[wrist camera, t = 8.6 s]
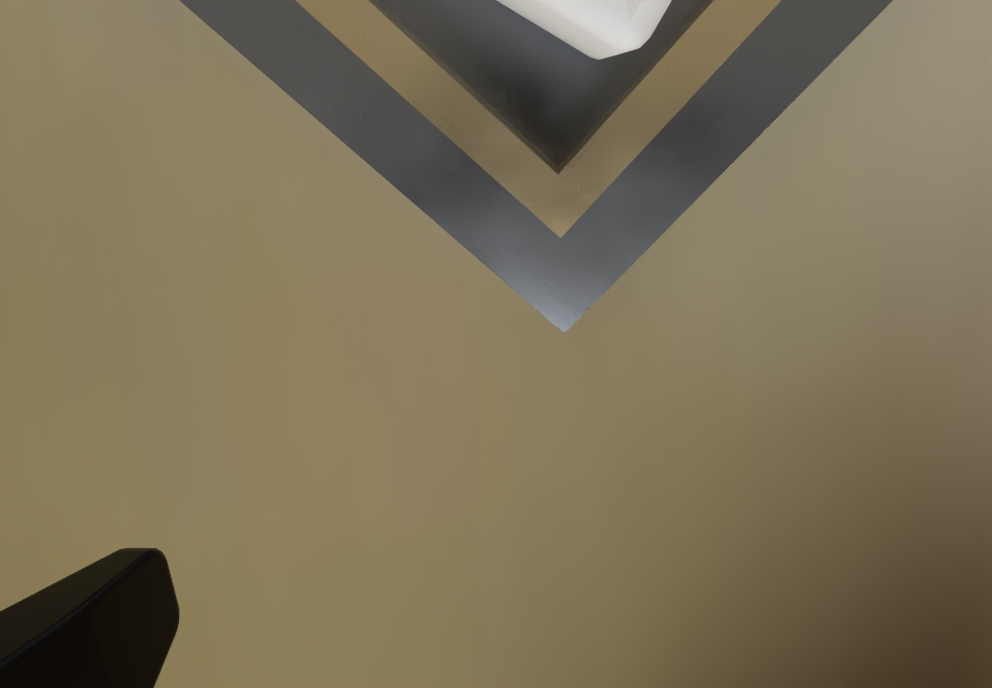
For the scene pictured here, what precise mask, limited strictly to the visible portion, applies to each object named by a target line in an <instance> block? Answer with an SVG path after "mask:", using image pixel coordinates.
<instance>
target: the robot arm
mask: <svg viewBox="0 0 992 688" xmlns="http://www.w3.org/2000/svg"><path fill="white" fill-rule="evenodd" d="M178 624H179V606H178V602H177V598H176V594H175V590H174V586H173V582H172V578H171V574H170V570H169V567H168V563H167V560H166V557H165V555H164V554H163V553H162V552H161V551H160V550H158V549H156V548H124V549H120V550H118V551H116V552H114V553H112V554H110V555H108V556H106V557H104V558H102V559H100V560H98V561H96V562H94V563H93V564H91V565H89V566H87V567H85V568H83V569H81V570H79V571H77V572H75V573H73V574H71V575H69V576H67V577H66V578H64V579H62V580H60V581H58V582H56V583H54V584H52V585H50V586H48V587H46V588H44V589H42V590H41V591H39V592H37V593H35V594H33V595H31V596H29V597H27V598H25V599H23V600H21V601H19V602H17V603H15V604H14V605H12V606H10V607H8V608H6V609H4V610H2V611H0V688H154V686H155V684H156V681H157V679H158V676H159V674H160V671H161V669H162V666H163V664H164V662H165V659H166V657H167V654H168V652H169V649H170V647H171V644H172V642H173V640H174V637H175V635H176V632H177V628H178Z"/></svg>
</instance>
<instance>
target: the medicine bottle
mask: <svg viewBox="0 0 992 688" xmlns="http://www.w3.org/2000/svg"><path fill="white" fill-rule="evenodd" d="M496 1H498V2H500V3H501V4H503V5H505V6H506V7H508V8H510V9H511V10H513V11H515V12H516V13H518V14H520V15H521V16H523V17H525V18H526V19H528V20H529V21H531V22H533V23H534V24H536V25H538V26H539V27H541V28H543V29H544V30H546V31H548V32H549V33H551V34H553V35H554V36H556V37H558V38H559V39H561V40H563V41H564V42H566V43H567V44H569V45H571V46H572V47H574V48H576V49H577V50H579V51H581V52H582V53H584V54H586V55H587V56H589V57H591V58H594V59H598V60H600V59H604V58H607V57H611V56H614V55H618V54H621V53H625V52H628V51H632V50H635V49H638V48H640V47H641V46H642V45H643V44H644V43H645V42H646V41H647V40H648V39H649V38H650V37H651V35H652V33H653V32H654V30H655V28H656V27H657V25H658V23H659V21H660V20H661V18H662V16H663V15H664V13H665V11H666V9H667V8H668V6H669V4H670V3H671V1H672V0H496Z"/></svg>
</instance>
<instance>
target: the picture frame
mask: <svg viewBox="0 0 992 688" xmlns="http://www.w3.org/2000/svg"><path fill="white" fill-rule="evenodd" d="M180 1H181V2H182V3H183V4H184V5H185V6H187V7H188V8H189V9H190V10H191V11H192V12H194V13H195V14H196V15H197V16H198V17H199V18H200V19H202V20H203V21H204V22H205V23H206V24H207V25H209V26H210V27H211V28H212V29H213V30H214V31H215V32H217V33H218V34H219V35H220V36H221V37H222V38H224V39H225V40H226V41H227V42H228V43H229V44H230V45H232V46H233V47H234V48H235V49H236V50H237V51H239V52H240V53H241V54H242V55H243V56H244V57H246V58H247V59H248V60H249V61H250V62H251V63H252V64H254V65H255V66H256V67H257V68H258V69H259V70H261V71H262V72H263V73H264V74H265V75H266V76H267V77H269V78H270V79H271V80H272V81H273V82H274V83H276V84H277V85H278V86H279V87H280V88H281V89H282V90H284V91H285V92H286V93H287V94H288V95H289V96H291V97H292V98H293V99H294V100H295V101H296V102H298V103H299V104H300V105H301V106H302V107H303V108H304V109H306V110H307V111H308V112H309V113H310V114H311V115H313V116H314V117H315V118H316V119H317V120H318V121H319V122H321V123H322V124H323V125H324V126H325V127H326V128H328V129H329V130H330V131H331V132H332V133H333V134H334V135H336V136H337V137H338V138H339V139H340V140H341V141H343V142H344V143H345V144H346V145H347V146H348V147H349V148H351V149H352V150H353V151H354V152H355V153H356V154H358V155H359V156H360V157H361V158H362V159H363V160H365V161H366V162H367V163H368V164H369V165H370V166H371V167H373V168H374V169H375V170H376V171H377V172H378V173H380V174H381V175H382V176H383V177H384V178H385V179H386V180H388V181H389V182H390V183H391V184H392V185H393V186H395V187H396V188H397V189H398V190H399V191H400V192H401V193H403V194H404V195H405V196H406V197H407V198H408V199H410V200H411V201H412V202H413V203H414V204H415V205H417V206H418V207H419V208H420V209H421V210H422V211H423V212H425V213H426V214H427V215H428V216H429V217H430V218H432V219H433V220H434V221H435V222H436V223H437V224H438V225H440V226H441V227H442V228H443V229H444V230H445V231H447V232H448V233H449V234H450V235H451V236H452V237H453V238H455V239H456V240H457V241H458V242H459V243H460V244H462V245H463V246H464V247H465V248H466V249H467V250H468V251H470V252H471V253H472V254H473V255H474V256H475V257H477V258H478V259H479V260H480V261H481V262H482V263H484V264H485V265H486V266H487V267H488V268H489V269H490V270H492V271H493V272H494V273H495V274H496V275H497V276H499V277H500V278H501V279H502V280H503V281H504V282H505V283H507V284H508V285H509V286H510V287H511V288H512V289H514V290H515V291H516V292H517V293H518V294H519V295H520V296H522V297H523V298H524V299H525V300H526V301H527V302H529V303H530V304H531V305H532V306H533V307H534V308H536V309H537V310H538V311H539V312H540V313H541V314H542V315H544V316H545V317H546V318H547V319H548V320H549V321H551V322H552V323H553V324H554V325H555V326H556V327H557V328H559V329H560V330H561V331H562V332H563V333H565V332H566V331H567V330H568V329H569V328H570V327H571V326H572V325H573V324H574V323H575V322H576V321H577V320H578V319H579V318H580V317H581V316H582V315H583V314H584V313H585V312H586V311H587V310H588V309H589V308H590V307H591V306H592V305H593V304H594V303H595V302H596V301H597V300H598V299H599V298H600V297H601V296H602V295H603V294H604V293H605V292H606V291H607V290H608V289H609V287H610V286H611V285H612V284H613V283H614V282H615V281H616V280H617V279H618V278H619V277H620V276H621V275H622V274H623V273H624V272H625V271H626V270H627V269H628V268H629V267H630V266H631V265H632V264H633V263H634V262H635V261H636V260H637V259H638V258H639V257H640V256H641V255H642V254H643V253H644V252H645V251H646V250H647V249H648V248H649V247H650V246H651V245H652V244H653V243H654V242H655V241H656V240H657V239H658V238H659V237H660V236H661V235H662V234H663V233H664V232H665V231H666V230H667V229H668V228H669V227H670V226H671V225H672V224H673V223H674V222H675V221H676V220H677V219H678V218H679V217H680V216H681V214H682V213H683V212H684V211H685V210H686V209H687V208H688V207H689V206H690V205H691V204H692V203H693V202H694V201H695V200H696V199H697V198H698V197H699V196H700V195H701V194H702V193H703V192H704V191H705V190H706V189H707V188H708V187H709V186H710V185H711V184H712V183H713V182H714V181H715V180H716V179H717V178H718V177H719V176H720V175H721V174H722V173H723V172H724V171H725V170H726V169H727V168H728V167H729V166H730V165H731V164H732V163H733V162H734V161H735V160H736V159H737V158H738V157H739V156H740V155H741V154H742V153H743V152H744V151H745V150H746V149H747V148H748V147H749V146H750V145H751V144H752V142H753V141H754V140H755V139H756V138H757V137H758V136H759V135H760V134H761V133H762V132H763V131H764V130H765V129H766V128H767V127H768V126H769V125H770V124H771V123H772V122H773V121H774V120H775V119H776V118H777V117H778V116H779V115H780V114H781V113H782V112H783V111H784V110H785V109H786V108H787V107H788V106H789V105H790V104H791V103H792V102H793V101H794V100H795V99H796V98H797V97H798V96H799V95H800V94H801V93H802V92H803V91H804V90H805V89H806V88H807V87H808V86H809V85H810V84H811V83H812V82H813V81H814V80H815V79H816V78H817V77H818V76H819V75H820V74H821V73H822V72H823V70H824V69H825V68H826V67H827V66H828V65H829V64H830V63H831V62H832V61H833V60H834V59H835V58H836V57H837V56H838V55H839V54H840V53H841V52H842V51H843V50H844V49H845V48H846V47H847V46H848V45H849V44H850V43H851V42H852V41H853V40H854V39H855V38H856V37H857V36H858V35H859V34H860V33H861V32H862V31H863V30H864V29H865V28H866V27H867V26H868V25H869V24H870V23H871V22H872V21H873V20H874V19H875V18H876V17H877V16H878V15H879V14H880V13H881V12H882V11H883V10H884V9H885V8H886V7H887V6H888V5H889V4H890V3H891V2H892V1H893V0H672V1H671V3H670V4H669V6H668V8H667V9H666V11H665V13H664V15H663V16H662V18H661V20H660V21H659V23H658V25H657V27H656V28H655V30H654V32H653V33H652V35H651V37H650V38H649V39H648V40H647V41H646V42H645V43H644V44H643V45H642V46H641V47H640V48H638V49H635V50H632V51H628V52H625V53H621V54H618V55H614V56H611V57H607V58H604V59H600V60H598V59H594V58H591V57H589V56H587V55H586V54H584V53H582V52H581V51H579V50H577V49H576V48H574V47H572V46H571V45H569V44H567V43H566V42H564V41H563V40H561V39H559V38H558V37H556V36H554V35H553V34H551V33H549V32H548V31H546V30H544V29H543V28H541V27H539V26H538V25H536V24H534V23H533V22H531V21H529V20H528V19H526V18H525V17H523V16H521V15H520V14H518V13H516V12H515V11H513V10H511V9H510V8H508V7H506V6H505V5H503V4H501V3H500V2H498V1H496V0H180Z"/></svg>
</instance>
